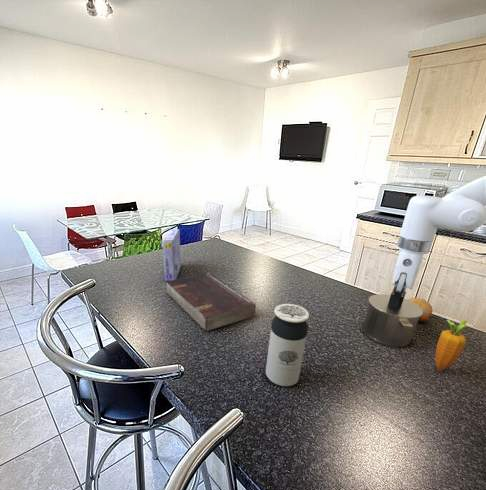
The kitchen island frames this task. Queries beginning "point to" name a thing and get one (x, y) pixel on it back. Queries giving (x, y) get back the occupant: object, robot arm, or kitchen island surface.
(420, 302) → the fruit
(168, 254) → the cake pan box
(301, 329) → the travel mug
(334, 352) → the kitchen island surface
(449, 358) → the carrot
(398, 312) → the pot lid
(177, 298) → the hardback book
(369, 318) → the pot
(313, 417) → the kitchen island surface
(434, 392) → the kitchen island surface
